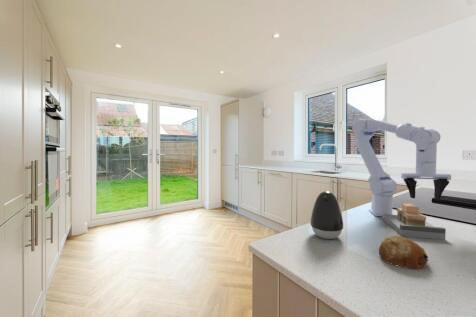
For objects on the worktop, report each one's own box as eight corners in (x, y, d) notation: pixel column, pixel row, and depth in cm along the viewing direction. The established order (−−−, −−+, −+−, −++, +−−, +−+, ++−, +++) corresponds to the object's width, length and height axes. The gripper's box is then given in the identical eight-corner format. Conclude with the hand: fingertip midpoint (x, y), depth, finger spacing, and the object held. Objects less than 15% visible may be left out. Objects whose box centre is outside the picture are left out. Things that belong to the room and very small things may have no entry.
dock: (382, 218, 90) (382, 210, 90) (417, 221, 87) (417, 212, 87) (401, 235, 73) (401, 225, 73) (445, 239, 70) (445, 228, 69)
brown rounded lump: (388, 261, 64) (375, 234, 66) (431, 256, 58) (415, 226, 60) (384, 277, 56) (369, 246, 58) (433, 273, 50) (415, 238, 52)
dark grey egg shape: (307, 239, 71) (308, 193, 70) (313, 228, 80) (313, 187, 80) (342, 245, 66) (343, 195, 66) (343, 233, 76) (344, 189, 75)
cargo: (401, 209, 82) (401, 203, 82) (412, 210, 81) (413, 204, 81) (406, 213, 78) (406, 206, 78) (418, 213, 77) (418, 206, 77)
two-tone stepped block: (396, 217, 85) (397, 207, 85) (412, 218, 84) (412, 208, 84) (408, 226, 76) (408, 215, 76) (425, 228, 74) (426, 216, 74)
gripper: (407, 162, 79) (406, 199, 80) (457, 163, 75) (456, 202, 76) (399, 161, 86) (398, 195, 87) (444, 161, 82) (443, 197, 82)
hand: (424, 198), depth 82 cm, fingers open, 7 cm apart
